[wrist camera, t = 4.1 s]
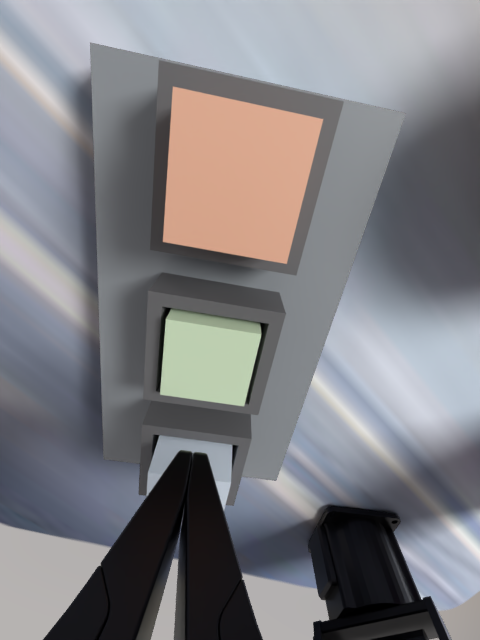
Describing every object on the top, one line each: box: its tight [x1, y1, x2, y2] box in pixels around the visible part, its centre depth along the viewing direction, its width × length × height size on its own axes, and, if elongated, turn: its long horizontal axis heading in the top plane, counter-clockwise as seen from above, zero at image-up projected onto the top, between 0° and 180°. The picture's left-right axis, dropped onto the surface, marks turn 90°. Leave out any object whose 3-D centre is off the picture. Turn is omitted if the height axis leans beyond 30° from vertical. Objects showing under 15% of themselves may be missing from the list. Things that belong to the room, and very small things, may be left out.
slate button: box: [146, 435, 232, 525], centre depth 17 cm, size 4×4×3 cm
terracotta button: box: [163, 87, 323, 264], centre depth 10 cm, size 4×4×3 cm
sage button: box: [160, 308, 261, 406], centre depth 15 cm, size 4×4×3 cm
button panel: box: [90, 43, 406, 506], centre depth 16 cm, size 12×22×4 cm, turn 170°
